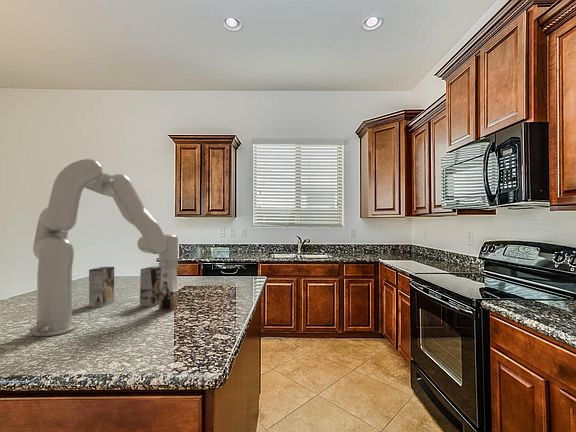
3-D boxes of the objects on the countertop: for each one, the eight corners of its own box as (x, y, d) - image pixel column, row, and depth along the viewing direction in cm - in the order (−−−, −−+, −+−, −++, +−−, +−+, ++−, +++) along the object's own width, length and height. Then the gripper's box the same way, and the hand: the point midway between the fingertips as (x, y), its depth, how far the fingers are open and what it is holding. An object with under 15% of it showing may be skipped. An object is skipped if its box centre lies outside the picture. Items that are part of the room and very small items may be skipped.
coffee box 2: (153, 306, 143) (153, 269, 143) (139, 306, 144) (139, 268, 144) (164, 301, 152) (164, 266, 152) (151, 301, 153) (151, 266, 153)
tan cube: (174, 310, 137) (174, 295, 137) (158, 310, 137) (159, 296, 137) (177, 306, 143) (177, 292, 143) (162, 307, 143) (162, 293, 143)
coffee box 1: (100, 301, 152) (101, 266, 152) (114, 301, 152) (114, 266, 152) (88, 306, 143) (88, 269, 143) (103, 306, 143) (103, 269, 143)
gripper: (173, 266, 132) (172, 312, 132) (181, 261, 149) (181, 301, 149) (153, 266, 131) (153, 312, 131) (164, 261, 148) (164, 302, 148)
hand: (168, 306), depth 140 cm, fingers closed on tan cube, 5 cm apart
